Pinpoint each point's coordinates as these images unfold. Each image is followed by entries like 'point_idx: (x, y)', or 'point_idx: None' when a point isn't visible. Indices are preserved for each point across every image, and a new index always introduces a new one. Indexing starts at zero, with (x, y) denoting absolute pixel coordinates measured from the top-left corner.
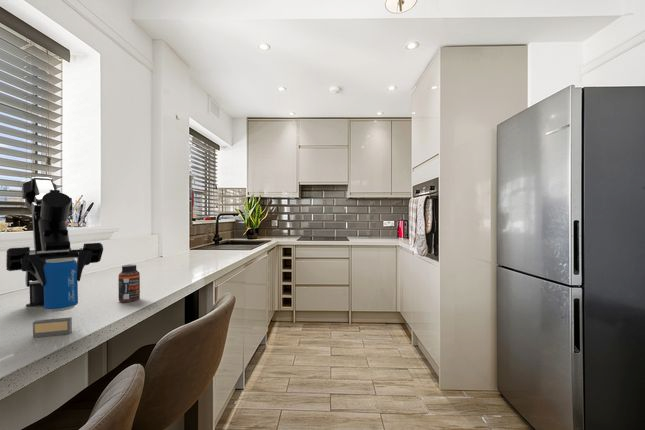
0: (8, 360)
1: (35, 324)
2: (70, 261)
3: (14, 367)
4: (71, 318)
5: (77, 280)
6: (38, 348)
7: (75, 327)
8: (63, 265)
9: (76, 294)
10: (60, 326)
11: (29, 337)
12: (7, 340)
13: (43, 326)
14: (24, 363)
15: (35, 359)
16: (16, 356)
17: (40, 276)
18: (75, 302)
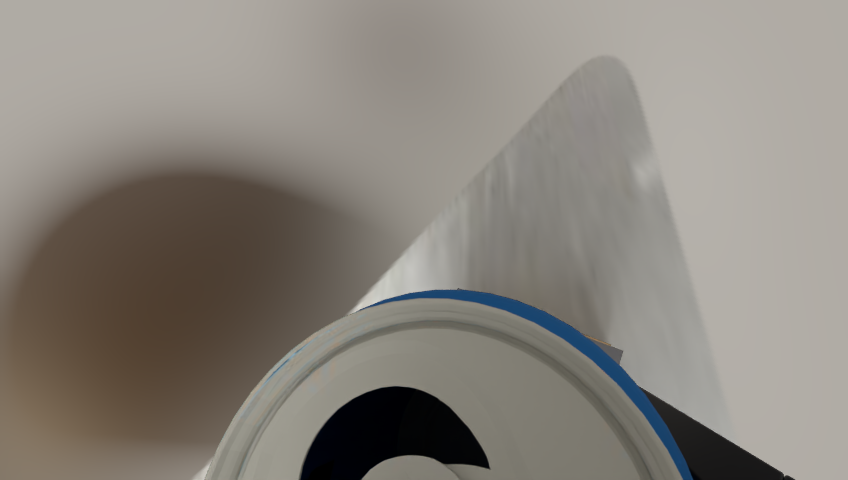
0: (639, 126)
1: (606, 343)
2: (299, 362)
3: (606, 60)
4: None
5: (337, 450)
6: (564, 191)
7: None
8: (410, 293)
9: (389, 405)
10: None
11: None
12: (716, 398)
13: None
14: (585, 76)
15: (559, 91)
16: (622, 150)
17: (678, 412)
18: (410, 390)
